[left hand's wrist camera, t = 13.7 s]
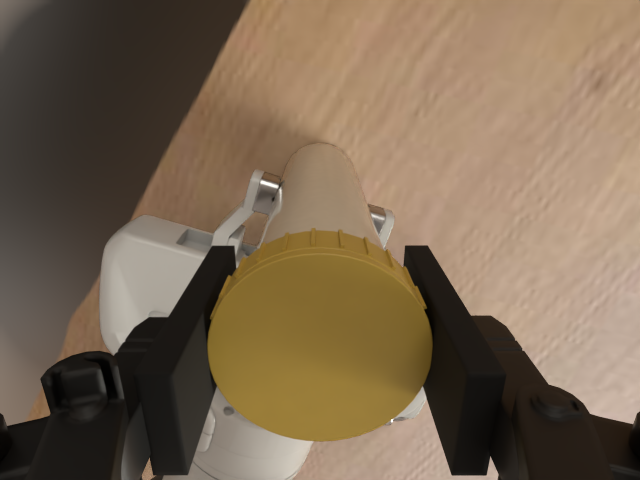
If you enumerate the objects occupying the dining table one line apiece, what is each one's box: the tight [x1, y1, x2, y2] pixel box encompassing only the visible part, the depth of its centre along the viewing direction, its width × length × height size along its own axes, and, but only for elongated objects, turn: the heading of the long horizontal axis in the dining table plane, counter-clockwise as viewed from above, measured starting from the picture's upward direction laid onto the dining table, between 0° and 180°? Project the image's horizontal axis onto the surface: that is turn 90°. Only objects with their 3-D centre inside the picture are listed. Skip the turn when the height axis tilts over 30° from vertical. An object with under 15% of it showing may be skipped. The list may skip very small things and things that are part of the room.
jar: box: [256, 143, 384, 250], centre depth 20 cm, size 5×5×18 cm
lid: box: [207, 228, 433, 441], centre depth 12 cm, size 6×6×2 cm
